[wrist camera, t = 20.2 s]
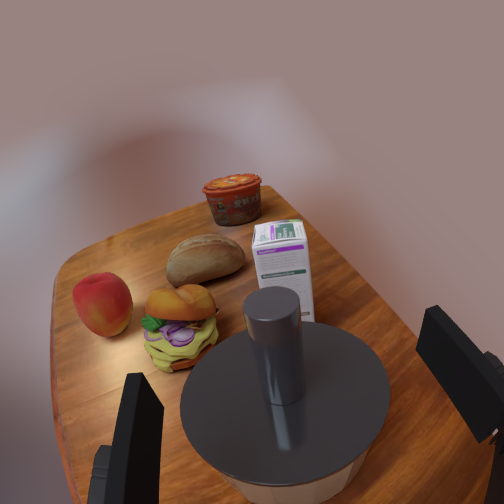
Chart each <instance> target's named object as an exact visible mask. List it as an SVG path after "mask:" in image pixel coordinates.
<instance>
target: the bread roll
mask: <svg viewBox="0 0 504 504" xmlns="http://www.w3.org/2000/svg"><path fill="white" fill-rule="evenodd" d="M244 261H245V254H244V252H243V250H242V248H241V247H240V246H239V245H238V244H237V243H236V242H235V241H233V240H231V239H229V238H227V237H225V236H222V235H218V234H203V235H198V236H194V237H191V238H188V239H186V240H185V241H183V242H181V243H180V244H179V245H178V246H177V247H176V248H175V249H174V250H173V252H172V253H171V255H170V258H169V261H168V265H167V268H166V277H167V279H168V281H169V282H170V283H171V284H172V285H173V286H176V287H181V286H184V285H188V284H198V283H201V282H204V281H208V280H211V279H215V278H218V277H222V276H225V275H228V274H231V273H233V272H235V271H237V270H238V269H239V268H240V267H241V266H242V265H243V264H244Z"/></svg>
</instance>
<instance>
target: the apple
mask: <svg viewBox="0 0 504 504" xmlns="http://www.w3.org/2000/svg"><path fill="white" fill-rule="evenodd" d="M73 300H74V305H75V308H76V311H77V313H78V315H79V317H80V318H81V320H82V321H83V323H84V324H85V325H86V326H87V327H88V328H89V329H90V330H91V331H92V332H94V333H95V334H97V335H100V336H103V337H110V336H115V335H118V334H120V333H121V332H122V331H123V330H124V329H125V327H126V326H127V324H128V323H129V321H130V318H131V316H132V312H133V301H132V297H131V293H130V291H129V288H128V286H127V285H126V283H125V282H124V281H123V280H122V279H121V278H120V277H118V276H117V275H115V274H113V273H109V272H105V273H97V274H92V275H90V276H88V277H86V278H84V279H83V280H81V281H80V282H79V283H78V284H77V285H76V286H75V287H74V289H73Z"/></svg>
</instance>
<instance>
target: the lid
mask: <svg viewBox="0 0 504 504" xmlns="http://www.w3.org/2000/svg"><path fill="white" fill-rule="evenodd" d="M242 307H243V313H244V317H245V322H246V326H247V330H244V331H242V332H239V333H237V334H235V335H233V336H231V337H229V338H227V339H225V340H224V341H222V342H221V343H219V344H217V345H216V346H215V347H213V348H212V349H211V350H210V351H208V352H207V353H206V354H205V355H204V356H203V357H202V358H201V359H200V360H199V361H198V363H197V364H196V365H195V366H194V368H193V369H192V371H191V372H190V374H189V376H188V378H187V380H186V382H185V384H184V387H183V391H182V394H181V401H180V417H181V421H182V426H183V429H184V431H185V434H186V436H187V438H188V440H189V441H190V443H191V445H192V446H193V448H194V449H195V450H196V452H197V453H198V454H199V455H200V456H201V457H202V458H203V459H204V460H205V461H206V462H207V463H208V464H210V465H211V466H212V467H213V468H214V469H216V470H218V471H219V472H221V473H223V474H225V475H226V476H228V477H231V478H233V479H236V480H238V481H241V482H244V483H248V484H253V485H257V486H265V487H293V486H299V485H304V484H309V483H313V482H316V481H319V480H322V479H325V478H327V477H329V476H331V475H333V474H336V473H338V472H340V471H341V470H343V469H344V468H346V467H347V466H349V465H350V464H352V463H353V462H355V461H356V460H357V459H358V458H359V457H360V456H361V455H362V454H364V453H365V452H366V451H367V449H368V448H369V447H370V446H371V444H372V443H373V442H374V441H375V439H376V438H377V436H378V434H379V433H380V431H381V429H382V427H383V424H384V422H385V419H386V416H387V414H388V409H389V404H390V385H389V379H388V376H387V373H386V370H385V368H384V366H383V364H382V362H381V360H380V359H379V358H378V356H377V355H376V353H375V352H374V351H373V350H372V349H371V348H370V347H369V346H368V345H367V344H366V343H364V342H363V341H362V340H360V339H359V338H357V337H356V336H354V335H352V334H351V333H349V332H346V331H344V330H342V329H340V328H337V327H334V326H331V325H326V324H322V323H316V322H309V321H301V308H300V298H299V296H298V294H297V293H296V292H295V291H293V290H292V289H289V288H286V287H281V286H271V287H265V288H261V289H258V290H256V291H254V292H252V293H251V294H250V295H248V296H247V297H246V299H245V300H244V302H243V306H242Z"/></svg>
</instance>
